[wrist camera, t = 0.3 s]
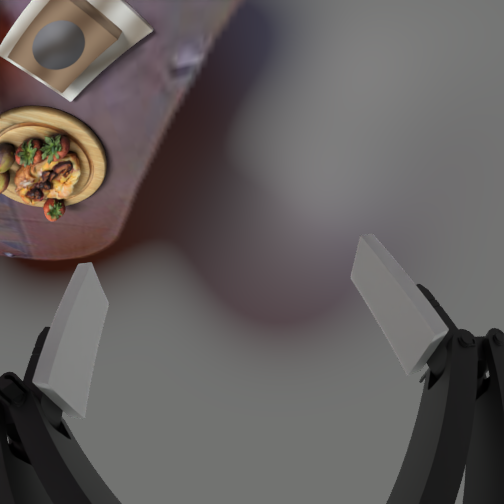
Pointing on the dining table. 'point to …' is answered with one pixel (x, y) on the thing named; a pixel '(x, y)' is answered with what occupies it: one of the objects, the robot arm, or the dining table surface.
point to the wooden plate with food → (48, 159)
